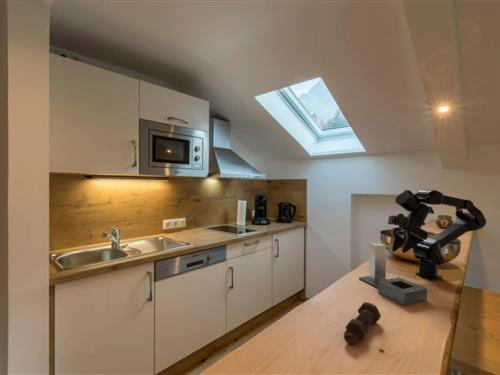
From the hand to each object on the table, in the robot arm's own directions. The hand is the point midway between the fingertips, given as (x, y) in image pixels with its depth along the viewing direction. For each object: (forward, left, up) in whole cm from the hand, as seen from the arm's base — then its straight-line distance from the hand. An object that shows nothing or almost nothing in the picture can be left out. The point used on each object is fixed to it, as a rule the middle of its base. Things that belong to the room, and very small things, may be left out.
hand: (397, 251), depth 98 cm
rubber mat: (+9, -1, -11) cm, 14 cm away
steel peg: (+9, -1, -10) cm, 14 cm away
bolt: (+39, +21, -12) cm, 46 cm away
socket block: (+11, +11, -11) cm, 19 cm away
